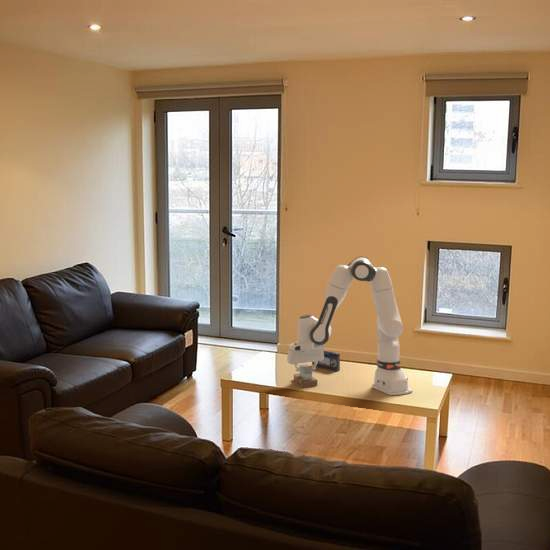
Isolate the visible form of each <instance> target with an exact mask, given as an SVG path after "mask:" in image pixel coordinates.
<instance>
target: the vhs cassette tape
mask: <svg viewBox="0 0 550 550" xmlns="http://www.w3.org/2000/svg"><path fill="white" fill-rule="evenodd" d="M323 352H324V360H323V361H318V364H317V365H316V366H317V367H316V368H320V367H321V368H320V369H324V368H325V370H329V369H330V371H333V370H335V371H334V372H339V370H340V368H341V365H340V364H341V361H340V360H341V354H340V353H338V352H337V353H336V352H333V351H328V350H323ZM311 363H312V364H311V365H314V362H311Z"/></svg>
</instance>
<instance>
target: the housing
mask: <svg viewBox="0 0 550 550" xmlns="http://www.w3.org/2000/svg"><path fill="white" fill-rule="evenodd" d="M299 374H300V376H301V377H302V378H303V379H304V380H309V379H312V377H313V369H312V366H309V365H308V364H305V363H303V364H299Z"/></svg>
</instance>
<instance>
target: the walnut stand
mask: <svg viewBox="0 0 550 550" xmlns="http://www.w3.org/2000/svg"><path fill="white" fill-rule="evenodd" d="M293 380H294V381H295V382H296V383H297V384H298V383H299V386H301V387H302V388H309V386H311V387H317V386H318V379H316V378H315V377H314V376H312V379H309V380H304V379H303V378H302V377H301V376H300V373H296V374H293ZM316 385H317V386H316Z"/></svg>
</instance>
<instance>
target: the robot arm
mask: <svg viewBox="0 0 550 550" xmlns="http://www.w3.org/2000/svg"><path fill="white" fill-rule="evenodd" d="M354 280H357V281H360V282H366V283H367V282H368V283H369V285H370V289H371V294H372V299H373V303H374V308H375V310H376V313H377V316H376V337H377V359H376V366H377V367H376V370H375V372H374V375H373V376H374V377H373V383H372V385H371V388H372V389H375V390H377V391H379V392H382V393H384V394H387V395H389V396H399V395H407V394H411V393H413V389H412V388H411V387H410V386H409V385H408V384H409V383H408V381H409V377H408V376H406V375H405V373H404V371H403V370H402V364H401V361H400V342H399V341H400V340H399V336H401V334H402V332H403V330H404V327H403V326H404V325H403V322H402V318H401V314H400V310H399V308H398V304H397V300H396V296H395V291H394V286H393V283H392V282H393V281H392V278H391V276H390V274H389V271H388V269H387V268H385V267H383V266H378V267H374V265H373V264H372V262H371V260H370V259H369V258H368V257H367V256H366V257H365V256H357V257H356V258H354V259H353V260H352V261H351V262H349V263H348V264H347V265H345V264H339V265H337V266H335V268H334V270H333V271H332V273H331V275H330V277H329V280H328V282H327V286H326V289H325V293H324V294H325V296H324V301H323V307H322V310H321V312H320V314H319V315H320V316H319V318H316V317H315V316H313V314H305V315H302V316H300V317H299V318H298V320H297V330H296V331H297V340H296V341H294V342H292V343H289V344H288V351H287V356H286V361H287V363H288V364H289V365H294V368H295V371H296V372H300V366H299V367H298V364H305V363H312V362H314V365H313V366H311V368H312V371H313V370H316V369H317V367H316V365H317V364H318V361H323V360H324V352H323V351H325V349H324V347H325V346H324V345H325V344H327V342H328V341H329V338H330V336H331V334H332V331H333V329H332V328H333V327H332V325H331V322H332V320H333V317H334V316H335V315H334V314H335V313H336V311H337V310H338V307H339V306H340V305H341V304H342V302H343V301H344V300H345V297H346V295H347V294H348V291H349V289H350V286H351V283H352V282H353V281H354Z"/></svg>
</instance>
